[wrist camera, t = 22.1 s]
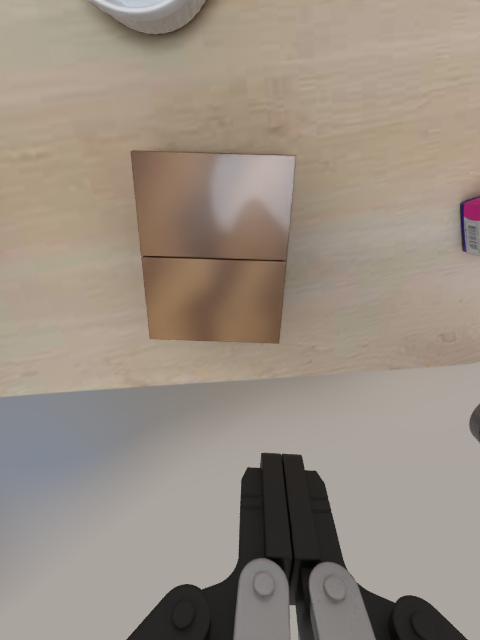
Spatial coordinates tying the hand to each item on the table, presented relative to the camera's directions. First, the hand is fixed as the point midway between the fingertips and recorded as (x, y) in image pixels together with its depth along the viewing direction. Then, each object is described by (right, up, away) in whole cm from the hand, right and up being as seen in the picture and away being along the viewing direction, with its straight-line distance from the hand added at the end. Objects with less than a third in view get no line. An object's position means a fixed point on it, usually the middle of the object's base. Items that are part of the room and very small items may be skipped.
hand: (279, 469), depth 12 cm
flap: (-4, +8, +20) cm, 22 cm away
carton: (-4, +14, +25) cm, 29 cm away
